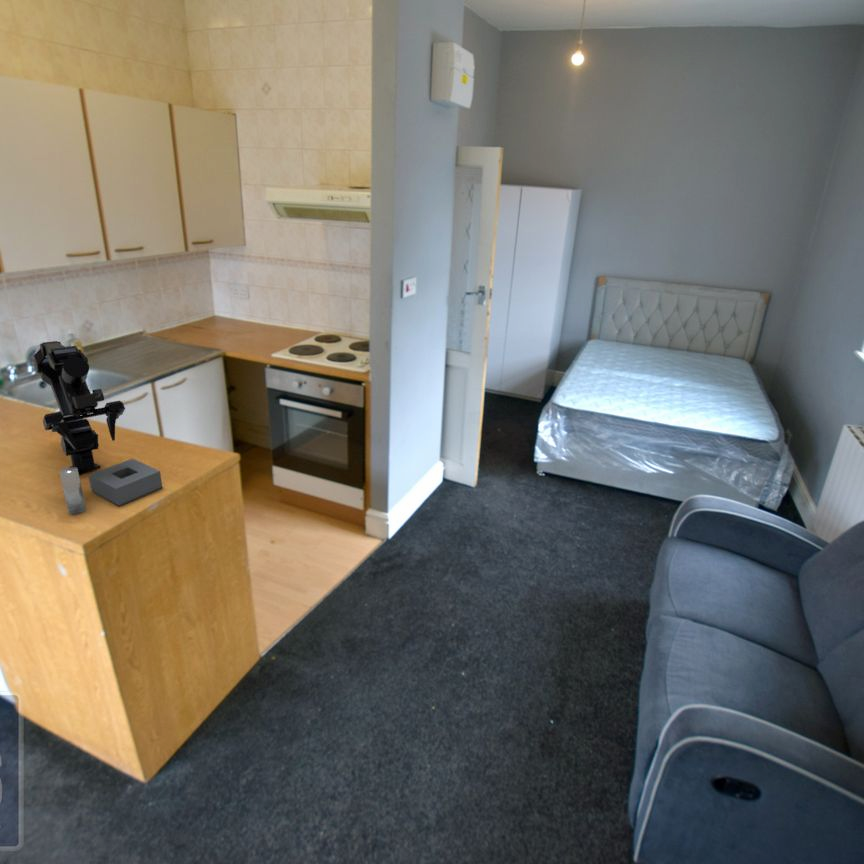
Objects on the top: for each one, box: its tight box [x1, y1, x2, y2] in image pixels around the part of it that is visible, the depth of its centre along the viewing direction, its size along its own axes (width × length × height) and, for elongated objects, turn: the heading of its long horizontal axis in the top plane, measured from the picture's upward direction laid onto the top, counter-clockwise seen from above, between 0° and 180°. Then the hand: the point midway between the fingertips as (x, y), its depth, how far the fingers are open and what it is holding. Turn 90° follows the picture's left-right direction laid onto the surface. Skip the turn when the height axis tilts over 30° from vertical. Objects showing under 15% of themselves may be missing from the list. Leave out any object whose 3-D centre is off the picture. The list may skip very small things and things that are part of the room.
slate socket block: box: [88, 458, 163, 508], centre depth 162 cm, size 13×13×6 cm
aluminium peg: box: [59, 466, 87, 516], centre depth 149 cm, size 4×4×12 cm
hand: (95, 444), depth 153 cm, fingers open, 9 cm apart
